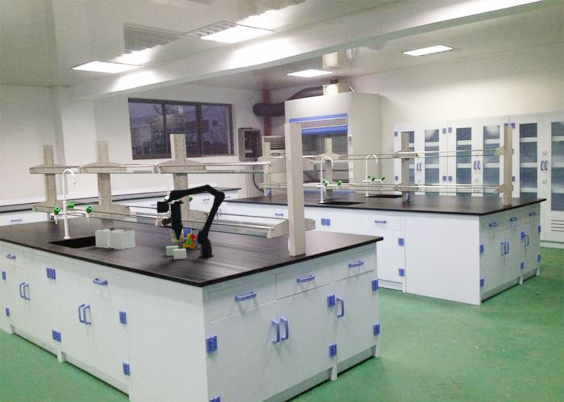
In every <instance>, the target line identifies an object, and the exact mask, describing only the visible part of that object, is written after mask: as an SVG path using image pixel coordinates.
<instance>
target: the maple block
mask: <svg viewBox="0 0 564 402" xmlns="http://www.w3.org/2000/svg"><path fill="white" fill-rule="evenodd" d="M170 236H171V243H181V242H182V243H183V242H185V232H184V231H182V232H181V235H180V239H179V240H177V238H176V234H175V231H173V232H170Z"/></svg>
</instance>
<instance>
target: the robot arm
mask: <svg viewBox="0 0 564 402" xmlns="http://www.w3.org/2000/svg"><path fill="white" fill-rule="evenodd" d="M205 192H207V193H208V194H210V195H212V196H213V197H214V198H213V203H212V206H211V207H210V211H209V213H208V215H207V217H206V220H205V221H204V222H205V223H204V226H203V227H202V229H201V228H199V229H198V233H197V234H196V235H195V237H197V239H196V243H197V242H198V243H199V244H200V248H199V249H200V251H199V253H200V254H199V255H198V257H199V258H205V259H206V258H212V257H215V255H214V254H213V246H212V241H211V239H209V238H208V237H209V234H210V233H209V232H210V230H211V227H212V224H213V222H214V220H215V217H216V215H217V212H218V210H219V208H220V206H222V204H223V202H224V201H225V199H226V194H225V192H224V191H223V190H217V188H214V187H213V186H211V185H210V184H207V183H206V184H204V185H200V186H199V185H198V186H195V187H190V188H186V189H185V188H184V189H173V190H171V191H170V192H169V197H168V198H167V199H166V200H158V201H156V213H157V214H167V213H168V212H169V211H170V216H169V217H165V218H163V219H162V220H160V223H161V224H162V226H163V227H166V226H167V225H169V224H170V226H171V230H172V231H173V232H175V234H176V238H177V240H179V239H180V235H181V232H183V230H184V225H183V220H182V206H181V205H183V204H184V203H185V202H184V201H183V200H182V198H184V197H185V198H186V197H188V196H192V195H197V194H201V193H205ZM199 244H198V245H199Z"/></svg>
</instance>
